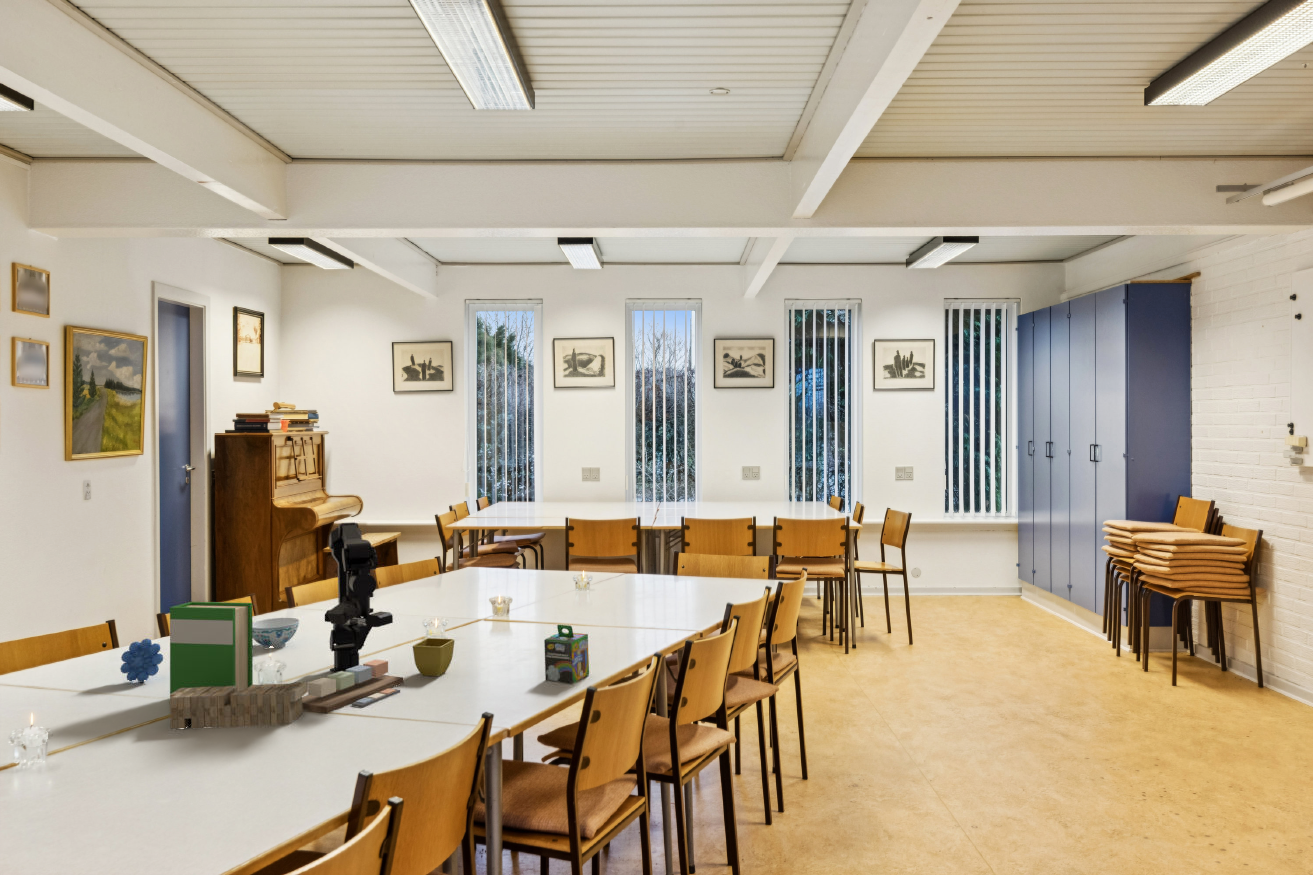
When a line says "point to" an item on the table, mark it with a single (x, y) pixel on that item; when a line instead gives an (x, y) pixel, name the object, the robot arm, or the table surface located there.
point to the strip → (375, 697)
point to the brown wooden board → (349, 694)
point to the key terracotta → (377, 667)
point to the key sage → (343, 679)
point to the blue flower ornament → (141, 660)
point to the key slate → (361, 673)
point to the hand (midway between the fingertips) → (358, 649)
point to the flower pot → (433, 655)
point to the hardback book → (211, 645)
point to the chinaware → (274, 631)
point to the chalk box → (566, 656)
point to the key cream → (321, 687)
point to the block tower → (237, 705)
